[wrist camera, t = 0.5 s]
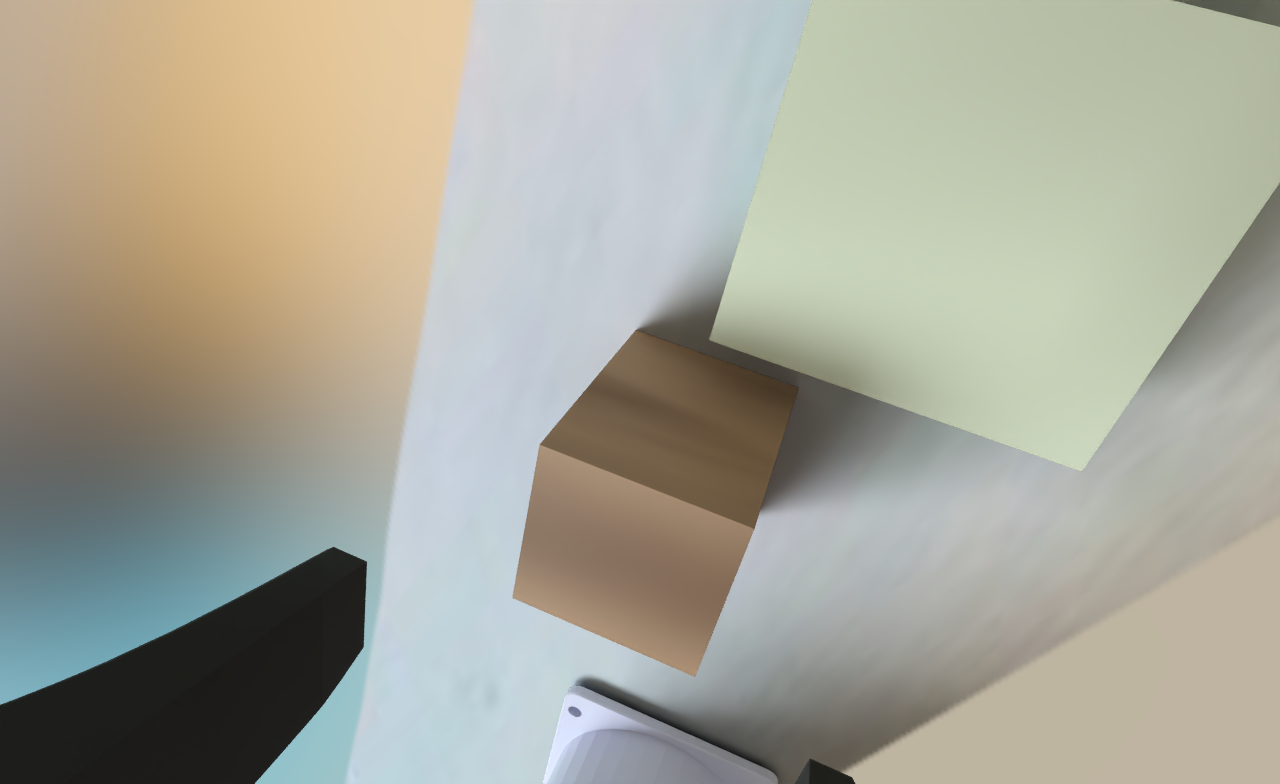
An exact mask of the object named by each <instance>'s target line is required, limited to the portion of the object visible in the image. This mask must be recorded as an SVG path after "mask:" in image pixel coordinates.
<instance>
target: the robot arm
mask: <svg viewBox="0 0 1280 784" xmlns="http://www.w3.org/2000/svg"><path fill="white" fill-rule="evenodd" d="M366 570H367V562H366V561H364V560H362V559H360V558H357V557H355V556H353V555H350V554H348V553H346V552H344V551H341V550H339V549H337V548H335V547H332V548H330V549H327V550H326V551H324V552H322V553H320V554H318V555H316V556H314V557H312V558H311V559H309V560H307V561H305V562H303V563H301V564H299V565H298V566H296V567H294V568H292V569H290V570H289V571H287V572H285V573H283V574H282V575H279V576H277V577H276V578H274V579H272V580H270V581H268V582H266V583H264V584H263V585H261V586H259V587H257V588H255V589H253V590H251V591H249V592H247V593H246V594H244V595H242V596H240V597H238V598H236V599H234V600H232V601H231V602H228V603H227V604H225V605H223V606H221V607H219V608H217V609H215V610H213V611H211V612H209V613H207V614H205V615H203V616H201V617H199V618H197V619H195V620H193V621H191V622H189V623H187V624H185V625H183V626H181V627H179V628H177V629H175V630H173V631H171V632H169V633H167V634H165V635H163V636H160V637H158V638H156V639H154V640H152V641H150V642H148V643H145V644H143V645H141V646H139V647H137V648H135V649H133V650H131V651H128V652H126V653H124V654H122V655H120V656H117V657H115V658H113V659H111V660H109V661H107V662H104V663H102V664H100V665H98V666H95V667H93V668H91V669H89V670H86V671H84V672H81V673H79V674H77V675H74V676H72V677H70V678H67V679H65V680H62V681H60V682H57V683H55V684H53V685H50V686H47V687H45V688H42V689H40V690H37V691H35V692H32V693H30V694H27V695H25V696H22V697H20V698H17V699H15V700H12V701H9V702H7V703H4V704H1V705H0V784H255V782H256V781H257V780H258V779H259V778H260V777H261V776H262V775H263V773H264V772H265V771H266V770H267V769H268V768H269V767H270V765H271V764H272V763H273V762H274V761H275V760H276V759H277V758H278V756H279V755H280V754H281V753H282V752H283V751H284V750H285V749H286V747H287V746H288V745H289V744H290V743H291V742H292V740H293V739H294V738H295V737H296V736H297V735H298V733H299V732H300V731H301V730H302V729H303V728H304V727H305V726H306V724H307V723H308V722H309V721H310V720H311V719H312V717H313V716H314V715H315V714H316V713H317V712H318V710H319V709H320V708H321V707H322V706H323V704H324V703H325V702H326V700H327V699H328V697H329V696H330V695H331V693H332V692H333V690H334V689H335V688H336V686H337V685H338V683H339V682H340V681H341V679H342V678H343V676H344V675H345V674H346V672H347V671H348V669H349V667H350V666H351V665H352V663H353V662H354V660H355V659H356V657H357V656H358V654H359V653H360V652H361V650H362V649H363V647H364V622H365V621H364V620H365V595H366ZM542 784H778V779H777V777H776V775H775V774H774V773H773V772H771V771H770V770H768V769H766V768H763V767H761V766H759V765H757V764H754V763H752V762H750V761H748V760H746V759H743V758H741V757H739V756H737V755H734V754H732V753H730V752H728V751H725V750H723V749H721V748H719V747H716V746H714V745H712V744H710V743H707V742H705V741H703V740H701V739H699V738H696V737H694V736H692V735H690V734H687V733H685V732H683V731H681V730H678V729H676V728H674V727H672V726H669V725H667V724H665V723H663V722H660V721H658V720H656V719H654V718H651V717H649V716H647V715H645V714H643V713H640V712H638V711H636V710H634V709H631V708H629V707H627V706H625V705H622V704H620V703H618V702H616V701H613V700H611V699H609V698H607V697H604V696H602V695H600V694H598V693H596V692H593V691H591V690H589V689H587V688H584V687H581V686H572V687H570V688H569V690H568V692H567V694H566V696H565V699H564V702H563V706H562V710H561V714H560V718H559V722H558V726H557V729H556V733H555V737H554V741H553V745H552V749H551V752H550V756H549V760H548V764H547V768H546V772H545V776H544V779H543V783H542ZM795 784H855V782H854V780H853V778H852V777H850V776H848V775H845V774H843V773H841V772H839V771H836V770H834V769H832V768H830V767H827V766H825V765H823V764H821V763H818V762H816V761H814V760H812V759H809V761H808V763H807V764H806V766H805V768H804V770H803V771H802V773H801V775H800V776H799V778H798V780H797V781H796V783H795Z"/></svg>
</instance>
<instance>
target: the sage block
mask: <svg viewBox="0 0 1280 784" xmlns="http://www.w3.org/2000/svg"><path fill="white" fill-rule="evenodd" d="M1279 183H1280V27H1278V26H1274V25H1270V24H1266V23H1262V22H1258V21H1254V20H1250V19H1246V18H1242V17H1238V16H1234V15H1230V14H1226V13H1221V12H1217V11H1213V10H1209V9H1205V8H1201V7H1197V6H1193V5H1189V4H1185V3H1181V2H1177V1H1173V0H812V2H811V6H810V9H809V12H808V16H807V19H806V22H805V26H804V29H803V32H802V35H801V39H800V42H799V45H798V49H797V52H796V55H795V58H794V62H793V65H792V68H791V72H790V75H789V78H788V82H787V85H786V88H785V91H784V95H783V98H782V101H781V105H780V108H779V111H778V115H777V118H776V121H775V124H774V128H773V131H772V134H771V138H770V141H769V144H768V148H767V151H766V154H765V157H764V161H763V164H762V167H761V171H760V174H759V177H758V180H757V184H756V187H755V190H754V194H753V197H752V200H751V204H750V207H749V210H748V213H747V217H746V220H745V223H744V227H743V230H742V233H741V237H740V240H739V243H738V246H737V250H736V253H735V256H734V260H733V263H732V266H731V270H730V273H729V276H728V279H727V283H726V286H725V289H724V293H723V296H722V299H721V302H720V306H719V309H718V312H717V316H716V319H715V322H714V326H713V329H712V332H711V335H710V339H709V340H710V341H713V342H715V343H718V344H721V345H724V346H727V347H730V348H732V349H735V350H738V351H741V352H744V353H747V354H749V355H752V356H755V357H758V358H761V359H764V360H766V361H769V362H772V363H775V364H778V365H781V366H783V367H786V368H789V369H792V370H795V371H798V372H800V373H803V374H806V375H809V376H812V377H815V378H817V379H820V380H823V381H826V382H829V383H832V384H835V385H837V386H840V387H843V388H846V389H849V390H852V391H854V392H857V393H860V394H863V395H866V396H869V397H871V398H874V399H877V400H880V401H883V402H886V403H888V404H891V405H894V406H897V407H900V408H903V409H905V410H908V411H911V412H914V413H917V414H920V415H922V416H925V417H928V418H931V419H934V420H937V421H939V422H942V423H945V424H948V425H951V426H954V427H956V428H959V429H962V430H965V431H968V432H971V433H974V434H976V435H979V436H982V437H985V438H988V439H991V440H993V441H996V442H999V443H1002V444H1005V445H1008V446H1010V447H1013V448H1016V449H1019V450H1022V451H1025V452H1027V453H1030V454H1033V455H1036V456H1039V457H1042V458H1044V459H1047V460H1050V461H1053V462H1056V463H1059V464H1061V465H1064V466H1067V467H1070V468H1073V469H1076V470H1078V471H1081V472H1082V470H1083V469H1084V468H1085V466H1086V465H1087V463H1088V462H1089V460H1090V459H1091V457H1092V456H1093V454H1094V453H1095V452H1096V450H1097V449H1098V447H1099V446H1100V444H1101V443H1102V441H1103V440H1104V438H1105V437H1106V435H1107V434H1108V433H1109V431H1110V430H1111V428H1112V427H1113V425H1114V424H1115V422H1116V421H1117V419H1118V418H1119V417H1120V415H1121V414H1122V412H1123V411H1124V409H1125V408H1126V406H1127V405H1128V403H1129V402H1130V400H1131V399H1132V398H1133V396H1134V395H1135V393H1136V392H1137V390H1138V389H1139V387H1140V386H1141V384H1142V383H1143V382H1144V380H1145V379H1146V377H1147V376H1148V374H1149V373H1150V371H1151V370H1152V368H1153V367H1154V365H1155V364H1156V363H1157V361H1158V360H1159V358H1160V357H1161V355H1162V354H1163V352H1164V351H1165V349H1166V348H1167V347H1168V345H1169V344H1170V342H1171V341H1172V339H1173V338H1174V336H1175V335H1176V333H1177V332H1178V330H1179V329H1180V328H1181V326H1182V325H1183V323H1184V322H1185V320H1186V319H1187V317H1188V316H1189V314H1190V313H1191V312H1192V310H1193V309H1194V307H1195V306H1196V304H1197V303H1198V301H1199V300H1200V298H1201V297H1202V295H1203V294H1204V293H1205V291H1206V290H1207V288H1208V287H1209V285H1210V284H1211V282H1212V281H1213V279H1214V278H1215V277H1216V275H1217V274H1218V272H1219V271H1220V269H1221V268H1222V266H1223V265H1224V263H1225V262H1226V260H1227V259H1228V258H1229V256H1230V255H1231V253H1232V252H1233V250H1234V249H1235V247H1236V246H1237V244H1238V243H1239V242H1240V240H1241V239H1242V237H1243V236H1244V234H1245V233H1246V231H1247V230H1248V228H1249V227H1250V225H1251V224H1252V223H1253V221H1254V220H1255V218H1256V217H1257V215H1258V214H1259V212H1260V211H1261V209H1262V208H1263V207H1264V205H1265V204H1266V202H1267V201H1268V199H1269V198H1270V196H1271V195H1272V193H1273V192H1274V190H1275V189H1276V188H1277V186H1278V185H1279Z"/></svg>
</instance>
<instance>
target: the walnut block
mask: <svg viewBox="0 0 1280 784" xmlns="http://www.w3.org/2000/svg"><path fill="white" fill-rule="evenodd" d="M797 390H798V387H795V386H792V385H789V384H787V383H784V382H781V381H778V380H775V379H773V378H770V377H767V376H764V375H761V374H758V373H756V372H753V371H750V370H747V369H744V368H742V367H739V366H736V365H733V364H730V363H728V362H725V361H722V360H719V359H716V358H713V357H711V356H708V355H705V354H702V353H699V352H697V351H694V350H691V349H688V348H685V347H683V346H680V345H677V344H674V343H671V342H668V341H666V340H663V339H660V338H657V337H654V336H652V335H649V334H646V333H643V332H640V331H637V330H636V331H635V332H634V333H633V334H632V335H631V336H630V338H629V339H628V340H627V341H626V342H625V344H624V345H623V346H622V347H621V348H620V350H619V351H618V352H617V353H616V354H615V356H614V357H613V358H612V359H611V360H610V361H609V363H608V364H607V365H606V366H605V367H604V369H603V370H602V371H601V372H600V373H599V375H598V376H597V377H596V378H595V379H594V381H593V382H592V383H591V384H590V385H589V387H588V388H587V389H586V390H585V391H584V392H583V394H582V395H581V396H580V397H579V398H578V400H577V401H576V402H575V403H574V404H573V406H572V407H571V408H570V409H569V410H568V412H567V413H566V414H565V415H564V416H563V418H562V419H561V420H560V421H559V422H558V423H557V425H556V426H555V427H554V428H553V429H552V431H551V432H550V433H549V434H548V435H547V437H546V438H545V439H544V440H543V441H542V443H541V444H540V446H539V451H538V457H537V463H536V468H535V474H534V480H533V485H532V491H531V496H530V502H529V508H528V513H527V519H526V525H525V530H524V536H523V541H522V547H521V553H520V558H519V564H518V570H517V575H516V581H515V586H514V592H513V598H514V599H516V600H519V601H521V602H523V603H526V604H528V605H530V606H533V607H535V608H537V609H540V610H542V611H544V612H546V613H549V614H551V615H553V616H556V617H558V618H560V619H563V620H565V621H567V622H570V623H572V624H574V625H576V626H579V627H581V628H583V629H586V630H588V631H590V632H593V633H595V634H597V635H600V636H602V637H604V638H606V639H609V640H611V641H613V642H616V643H618V644H620V645H623V646H625V647H627V648H630V649H632V650H634V651H636V652H639V653H641V654H643V655H646V656H648V657H650V658H653V659H655V660H657V661H660V662H662V663H664V664H666V665H669V666H671V667H673V668H676V669H678V670H680V671H683V672H685V673H687V674H690V675H692V676H694V677H695V676H696V673H697V671H698V668H699V666H700V663H701V661H702V658H703V656H704V653H705V651H706V648H707V646H708V643H709V641H710V638H711V636H712V633H713V631H714V628H715V626H716V623H717V621H718V618H719V616H720V613H721V611H722V608H723V606H724V603H725V601H726V598H727V596H728V593H729V591H730V588H731V586H732V583H733V581H734V578H735V576H736V573H737V571H738V568H739V566H740V563H741V561H742V558H743V556H744V553H745V551H746V548H747V546H748V543H749V541H750V538H751V536H752V533H753V531H754V528H755V525H756V522H757V519H758V516H759V512H760V509H761V506H762V503H763V500H764V496H765V493H766V490H767V487H768V483H769V480H770V477H771V474H772V471H773V467H774V464H775V461H776V458H777V455H778V451H779V448H780V445H781V442H782V439H783V435H784V432H785V429H786V426H787V423H788V419H789V416H790V413H791V410H792V406H793V403H794V400H795V397H796V394H797Z"/></svg>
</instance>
